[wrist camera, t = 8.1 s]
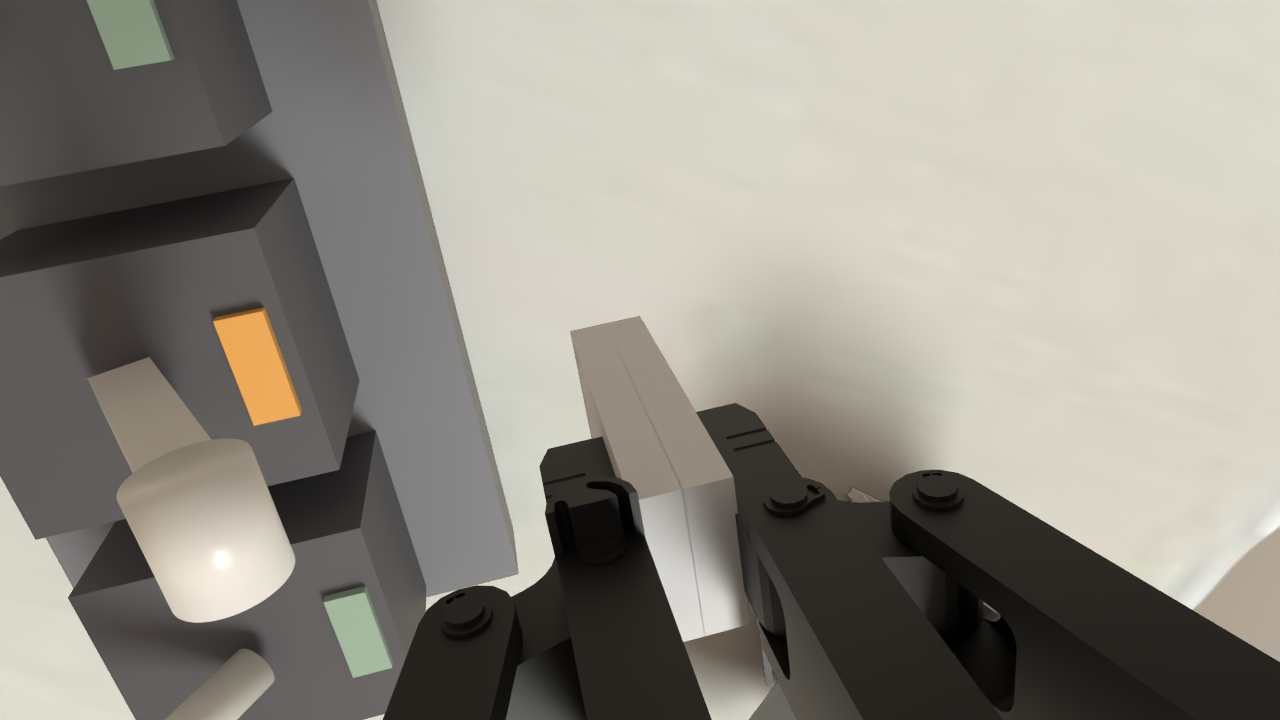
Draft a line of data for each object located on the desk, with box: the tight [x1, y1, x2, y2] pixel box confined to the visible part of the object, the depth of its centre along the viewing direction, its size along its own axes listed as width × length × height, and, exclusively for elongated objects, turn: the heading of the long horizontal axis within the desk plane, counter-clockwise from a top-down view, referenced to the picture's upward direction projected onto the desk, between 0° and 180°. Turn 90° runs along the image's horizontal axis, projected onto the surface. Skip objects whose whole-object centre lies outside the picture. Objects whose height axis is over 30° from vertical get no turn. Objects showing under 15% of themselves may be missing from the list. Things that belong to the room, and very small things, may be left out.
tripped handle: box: [87, 357, 295, 623], centre depth 18 cm, size 2×2×9 cm
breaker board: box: [0, 0, 518, 720], centre depth 22 cm, size 15×26×17 cm, turn 8°
